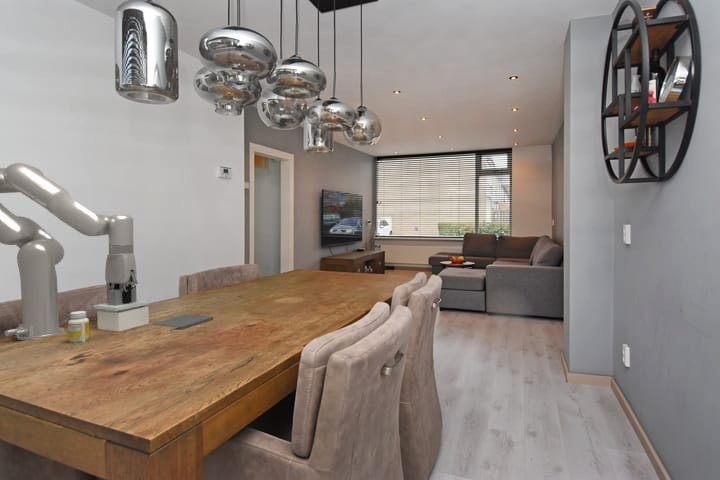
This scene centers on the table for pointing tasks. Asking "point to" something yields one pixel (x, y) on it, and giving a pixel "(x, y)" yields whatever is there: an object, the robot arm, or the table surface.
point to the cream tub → (123, 319)
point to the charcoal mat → (183, 321)
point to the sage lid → (120, 302)
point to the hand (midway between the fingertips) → (122, 301)
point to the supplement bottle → (78, 327)
